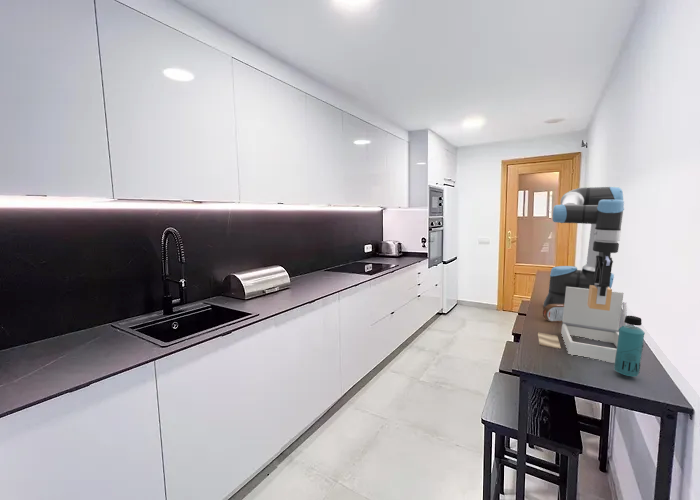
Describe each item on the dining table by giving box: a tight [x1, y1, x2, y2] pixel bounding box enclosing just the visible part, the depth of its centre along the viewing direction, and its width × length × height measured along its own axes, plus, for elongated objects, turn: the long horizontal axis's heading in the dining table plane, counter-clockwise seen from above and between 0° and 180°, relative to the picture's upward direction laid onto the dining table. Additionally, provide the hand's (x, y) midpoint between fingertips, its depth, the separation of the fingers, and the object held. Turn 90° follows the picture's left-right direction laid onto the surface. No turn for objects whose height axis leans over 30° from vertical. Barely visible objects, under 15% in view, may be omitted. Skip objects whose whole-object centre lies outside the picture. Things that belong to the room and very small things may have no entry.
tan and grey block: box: [587, 284, 613, 311], centre depth 125 cm, size 5×6×8 cm
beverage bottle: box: [614, 315, 645, 377], centre depth 105 cm, size 6×7×20 cm
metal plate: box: [537, 332, 562, 350], centre depth 134 cm, size 14×7×1 cm, turn 153°
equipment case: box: [560, 287, 629, 364], centre depth 126 cm, size 23×21×21 cm
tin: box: [542, 304, 564, 323], centre depth 157 cm, size 15×3×8 cm, turn 97°
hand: (598, 301), depth 125 cm, fingers closed on tan and grey block, 5 cm apart
